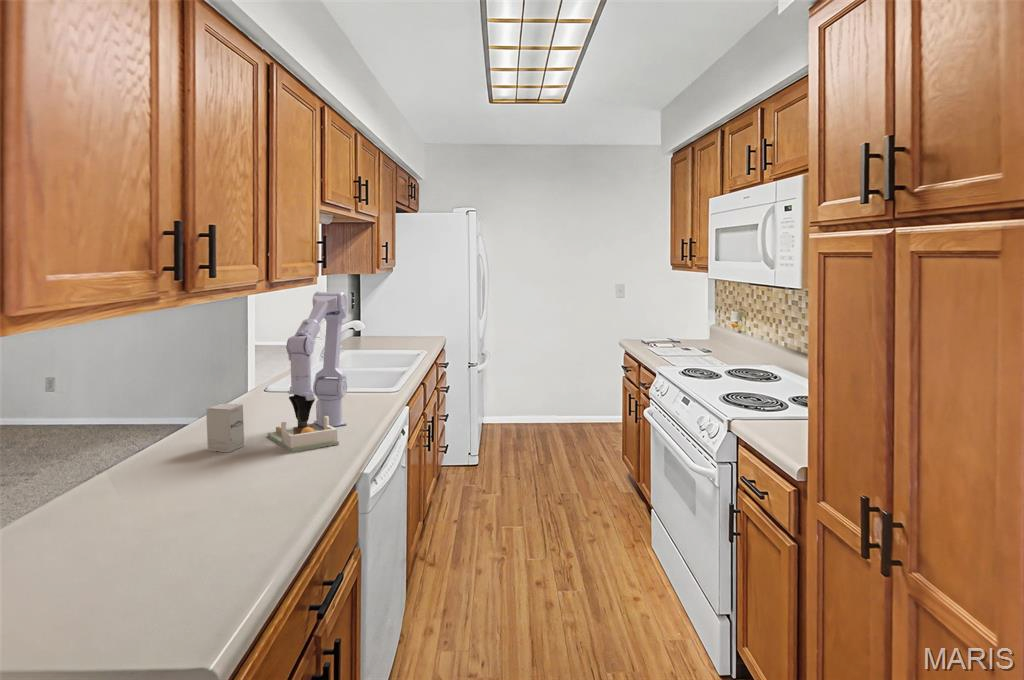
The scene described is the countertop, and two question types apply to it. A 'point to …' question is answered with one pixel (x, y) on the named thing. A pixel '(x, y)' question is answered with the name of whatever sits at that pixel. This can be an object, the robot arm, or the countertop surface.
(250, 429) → the countertop surface
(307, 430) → the ball
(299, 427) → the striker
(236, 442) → the supplement box
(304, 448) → the pitch
